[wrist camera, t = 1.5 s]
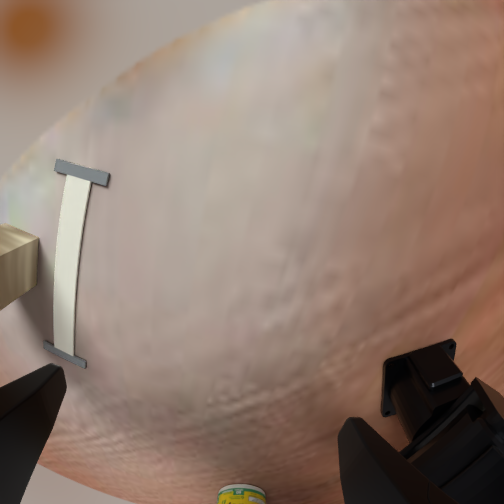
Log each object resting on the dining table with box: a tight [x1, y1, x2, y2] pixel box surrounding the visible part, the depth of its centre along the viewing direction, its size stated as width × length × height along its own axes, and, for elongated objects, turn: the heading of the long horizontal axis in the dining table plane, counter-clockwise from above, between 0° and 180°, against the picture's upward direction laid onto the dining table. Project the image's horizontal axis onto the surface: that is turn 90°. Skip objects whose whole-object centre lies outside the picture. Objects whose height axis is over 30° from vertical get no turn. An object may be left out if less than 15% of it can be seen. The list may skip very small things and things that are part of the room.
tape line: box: [43, 159, 110, 369], centre depth 20 cm, size 16×4×1 cm, turn 162°
